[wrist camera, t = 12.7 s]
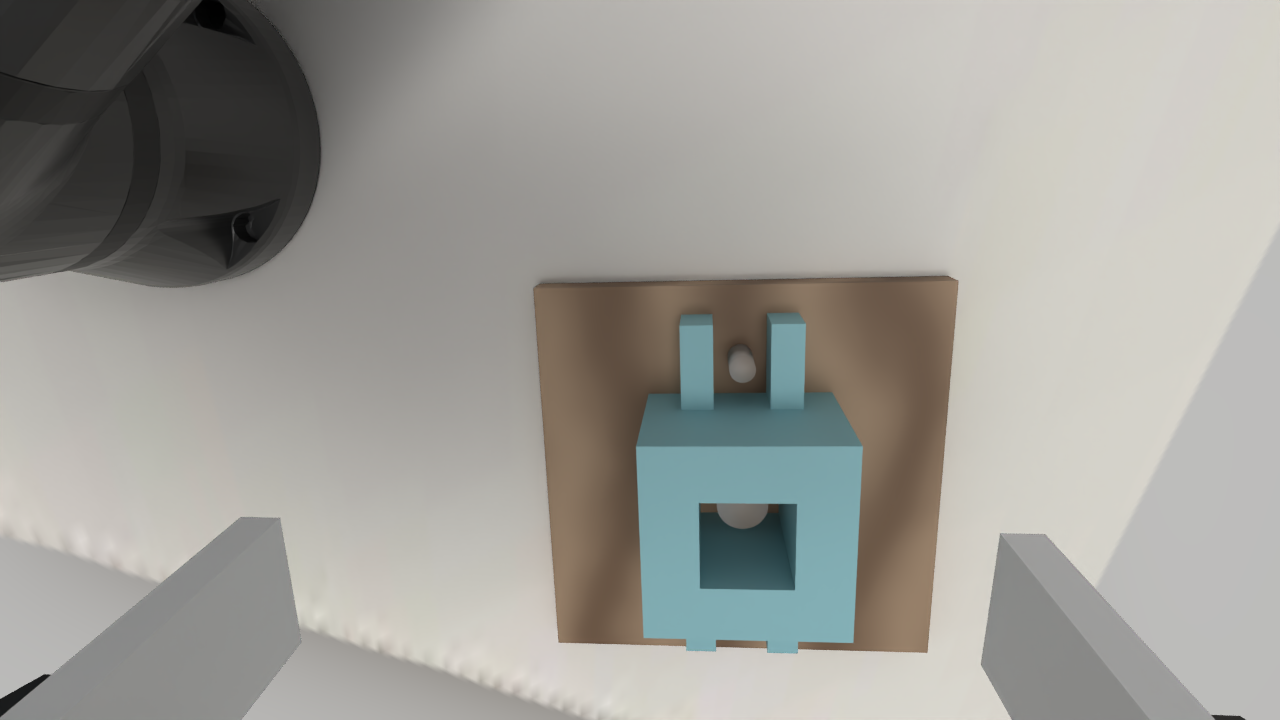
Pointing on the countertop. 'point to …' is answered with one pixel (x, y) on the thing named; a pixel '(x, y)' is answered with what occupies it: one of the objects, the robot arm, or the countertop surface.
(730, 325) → the plate
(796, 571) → the flange block
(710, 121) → the countertop surface
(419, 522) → the countertop surface
